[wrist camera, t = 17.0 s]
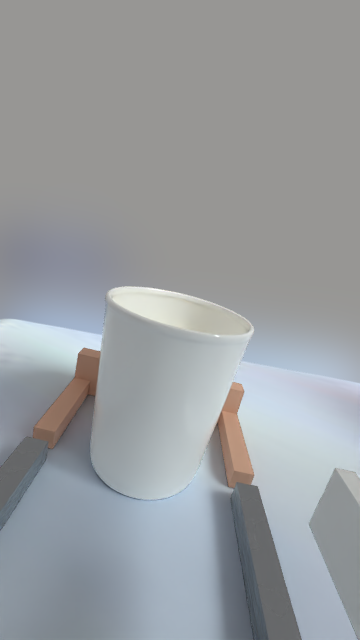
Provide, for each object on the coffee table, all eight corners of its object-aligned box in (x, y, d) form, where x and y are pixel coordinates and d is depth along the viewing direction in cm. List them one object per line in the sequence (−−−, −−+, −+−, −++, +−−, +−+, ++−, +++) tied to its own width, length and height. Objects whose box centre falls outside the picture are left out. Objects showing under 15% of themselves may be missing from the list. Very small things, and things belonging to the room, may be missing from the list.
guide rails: (251, 503, 20) (257, 486, 20) (539, 1688, 4) (616, 1739, 3) (24, 454, 19) (26, 436, 19) (-874, 1637, 3) (-999, 1686, 3)
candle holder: (63, 425, 23) (85, 279, 20) (165, 407, 29) (195, 292, 26) (105, 539, 15) (152, 336, 12) (232, 484, 21) (286, 336, 18)
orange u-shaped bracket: (230, 417, 30) (241, 384, 29) (248, 491, 21) (265, 446, 20) (78, 383, 29) (83, 347, 28) (31, 444, 20) (37, 396, 19)
